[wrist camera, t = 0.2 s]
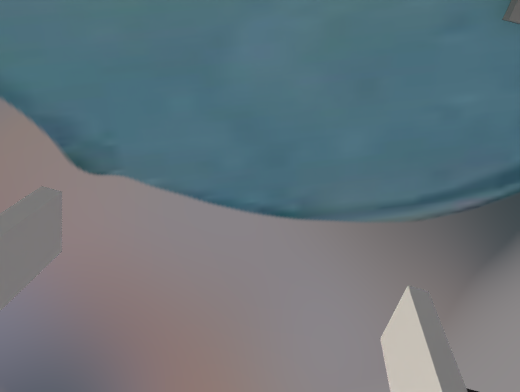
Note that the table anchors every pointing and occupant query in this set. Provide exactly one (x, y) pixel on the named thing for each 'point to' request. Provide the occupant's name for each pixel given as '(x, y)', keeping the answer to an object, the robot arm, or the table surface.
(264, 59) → the table surface
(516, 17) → the board
